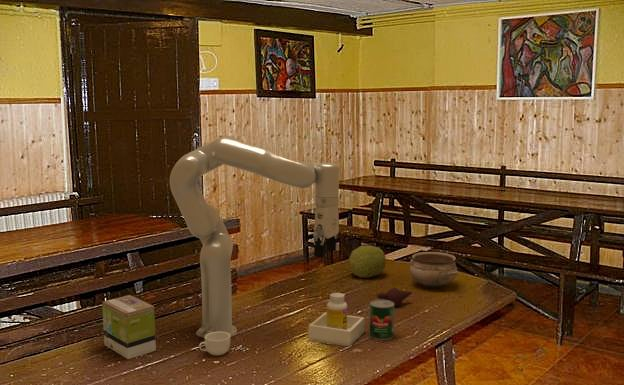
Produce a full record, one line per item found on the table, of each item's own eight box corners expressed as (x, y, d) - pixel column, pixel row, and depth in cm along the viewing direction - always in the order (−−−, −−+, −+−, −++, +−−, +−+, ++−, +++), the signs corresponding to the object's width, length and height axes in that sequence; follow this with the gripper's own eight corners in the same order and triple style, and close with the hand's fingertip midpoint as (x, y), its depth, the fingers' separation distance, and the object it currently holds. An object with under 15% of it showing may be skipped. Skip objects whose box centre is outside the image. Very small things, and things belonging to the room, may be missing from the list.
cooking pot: (394, 283, 276) (395, 254, 274) (426, 275, 287) (427, 248, 285) (439, 298, 256) (440, 267, 254) (472, 289, 267) (473, 259, 265)
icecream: (404, 283, 253) (371, 292, 246) (415, 283, 247) (382, 292, 240) (407, 301, 253) (375, 310, 246) (419, 301, 246) (386, 311, 239)
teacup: (223, 346, 207) (223, 329, 207) (235, 354, 201) (235, 337, 200) (194, 353, 202) (193, 336, 201) (205, 361, 196) (204, 344, 195)
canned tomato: (374, 341, 212) (374, 308, 210) (365, 332, 219) (366, 300, 217) (397, 338, 214) (398, 305, 212) (388, 330, 221) (388, 298, 220)
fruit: (359, 269, 297) (376, 240, 294) (380, 287, 287) (398, 258, 285) (337, 264, 285) (354, 234, 282) (358, 283, 275) (376, 252, 273)
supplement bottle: (344, 337, 212) (345, 298, 210) (324, 335, 213) (324, 297, 211) (348, 330, 218) (349, 292, 216) (328, 328, 220) (329, 291, 218)
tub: (350, 347, 207) (350, 331, 206) (308, 340, 212) (308, 325, 211) (364, 332, 219) (364, 317, 219) (325, 326, 225) (325, 312, 224)
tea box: (103, 346, 207) (100, 300, 205) (132, 338, 214) (130, 293, 212) (127, 360, 196) (125, 312, 194) (157, 351, 203) (155, 304, 201)
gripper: (326, 206, 203) (325, 261, 206) (347, 198, 219) (345, 249, 221) (304, 204, 206) (303, 258, 209) (326, 196, 222) (325, 246, 225)
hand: (325, 253), depth 215 cm, fingers open, 9 cm apart
